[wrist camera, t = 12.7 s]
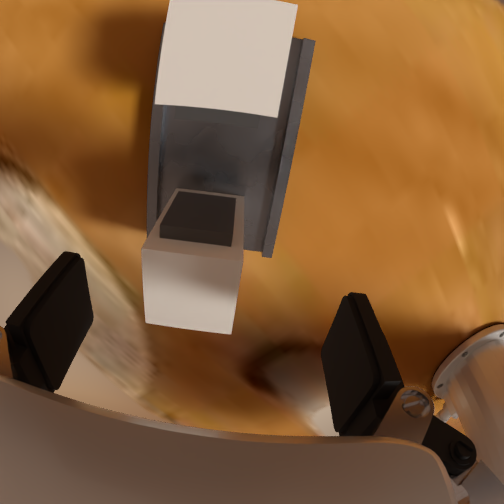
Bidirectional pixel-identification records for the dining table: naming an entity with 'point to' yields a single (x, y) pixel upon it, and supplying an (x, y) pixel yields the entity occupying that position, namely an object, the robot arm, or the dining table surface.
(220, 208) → the white rectangular block
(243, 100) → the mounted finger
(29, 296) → the robot arm
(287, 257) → the dining table surface
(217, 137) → the grey slab
